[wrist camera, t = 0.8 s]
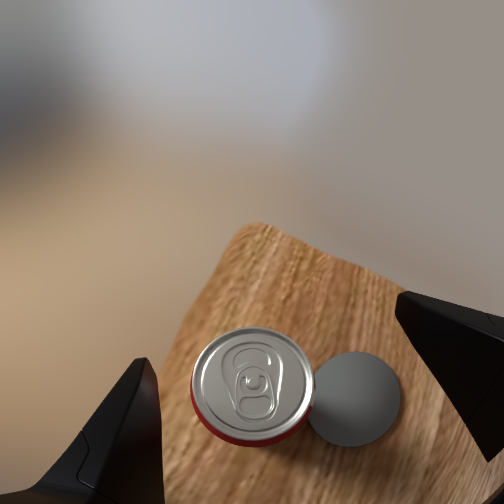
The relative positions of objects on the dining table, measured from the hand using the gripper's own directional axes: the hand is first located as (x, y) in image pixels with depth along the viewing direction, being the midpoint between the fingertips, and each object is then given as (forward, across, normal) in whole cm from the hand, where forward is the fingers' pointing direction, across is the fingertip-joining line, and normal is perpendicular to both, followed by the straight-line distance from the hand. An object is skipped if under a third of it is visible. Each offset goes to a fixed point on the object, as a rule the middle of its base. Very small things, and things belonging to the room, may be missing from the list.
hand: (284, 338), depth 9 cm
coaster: (+5, -6, +13) cm, 15 cm away
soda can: (+6, +1, +12) cm, 14 cm away
